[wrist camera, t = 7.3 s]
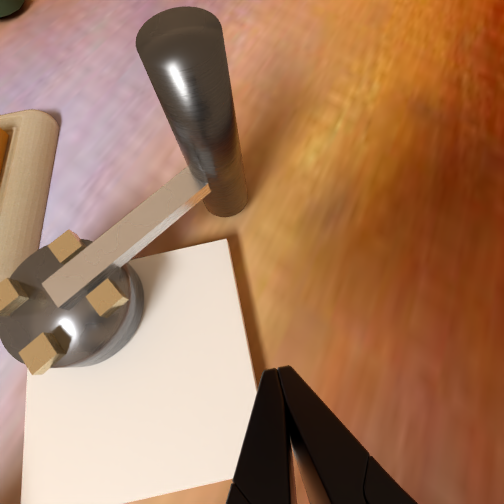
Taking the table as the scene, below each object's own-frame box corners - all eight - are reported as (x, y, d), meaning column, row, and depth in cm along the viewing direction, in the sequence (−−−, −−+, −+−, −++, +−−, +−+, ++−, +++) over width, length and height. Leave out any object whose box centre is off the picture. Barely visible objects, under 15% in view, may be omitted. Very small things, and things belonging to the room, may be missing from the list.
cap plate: (271, 461, 19) (271, 469, 18) (38, 514, 19) (19, 527, 17) (229, 245, 24) (226, 238, 23) (46, 286, 24) (31, 281, 23)
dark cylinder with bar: (276, 213, 24) (279, 58, 11) (78, 393, 20) (-221, 443, 8) (210, 156, 26) (155, -25, 14) (22, 307, 22) (-276, 245, 10)
